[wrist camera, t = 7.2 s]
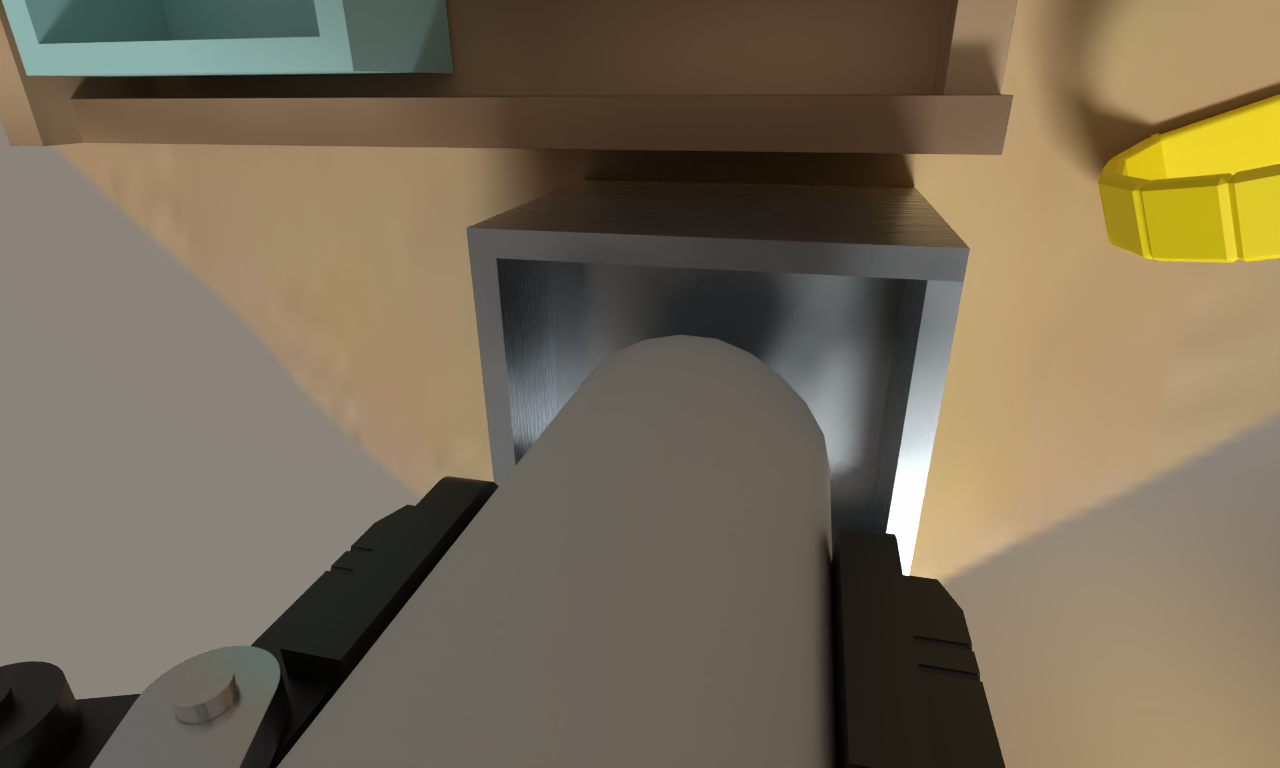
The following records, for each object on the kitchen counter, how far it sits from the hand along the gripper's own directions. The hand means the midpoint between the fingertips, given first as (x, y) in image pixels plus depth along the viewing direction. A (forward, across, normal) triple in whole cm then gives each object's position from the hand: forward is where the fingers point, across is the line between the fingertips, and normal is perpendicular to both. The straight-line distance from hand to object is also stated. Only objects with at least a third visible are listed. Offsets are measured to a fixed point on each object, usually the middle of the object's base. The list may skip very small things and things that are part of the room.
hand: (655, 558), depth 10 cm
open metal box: (+10, 0, 0) cm, 10 cm away
